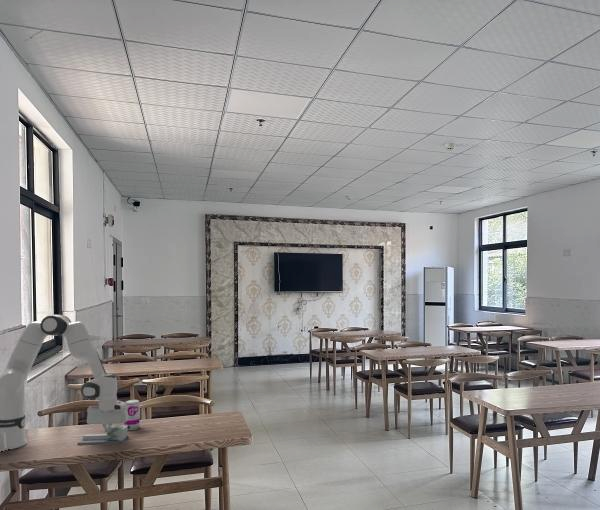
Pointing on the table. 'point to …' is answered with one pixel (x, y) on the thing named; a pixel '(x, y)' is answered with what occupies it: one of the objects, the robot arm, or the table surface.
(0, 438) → the robot arm
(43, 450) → the table surface
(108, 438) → the keeper
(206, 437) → the table surface
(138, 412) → the supplement can
